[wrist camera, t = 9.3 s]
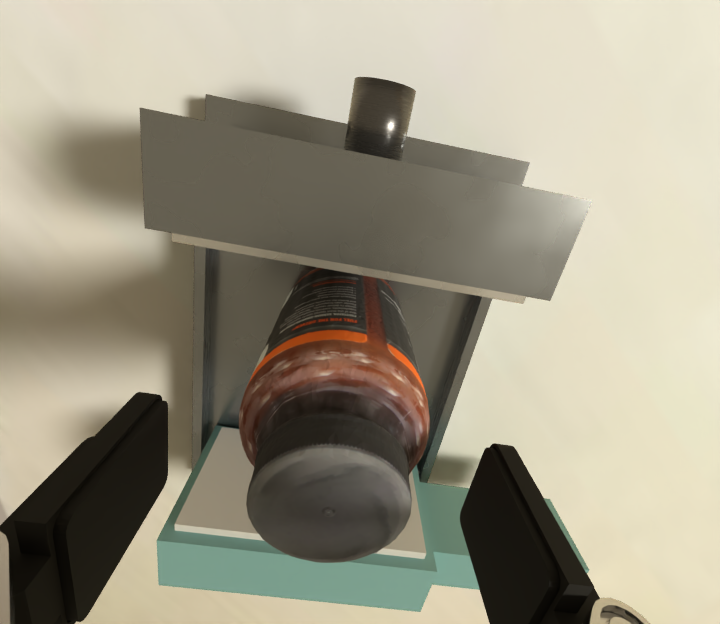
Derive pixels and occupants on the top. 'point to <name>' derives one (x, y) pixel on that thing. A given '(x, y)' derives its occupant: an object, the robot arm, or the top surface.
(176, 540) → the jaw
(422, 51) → the top surface
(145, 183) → the vise
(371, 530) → the supplement bottle
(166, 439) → the robot arm
